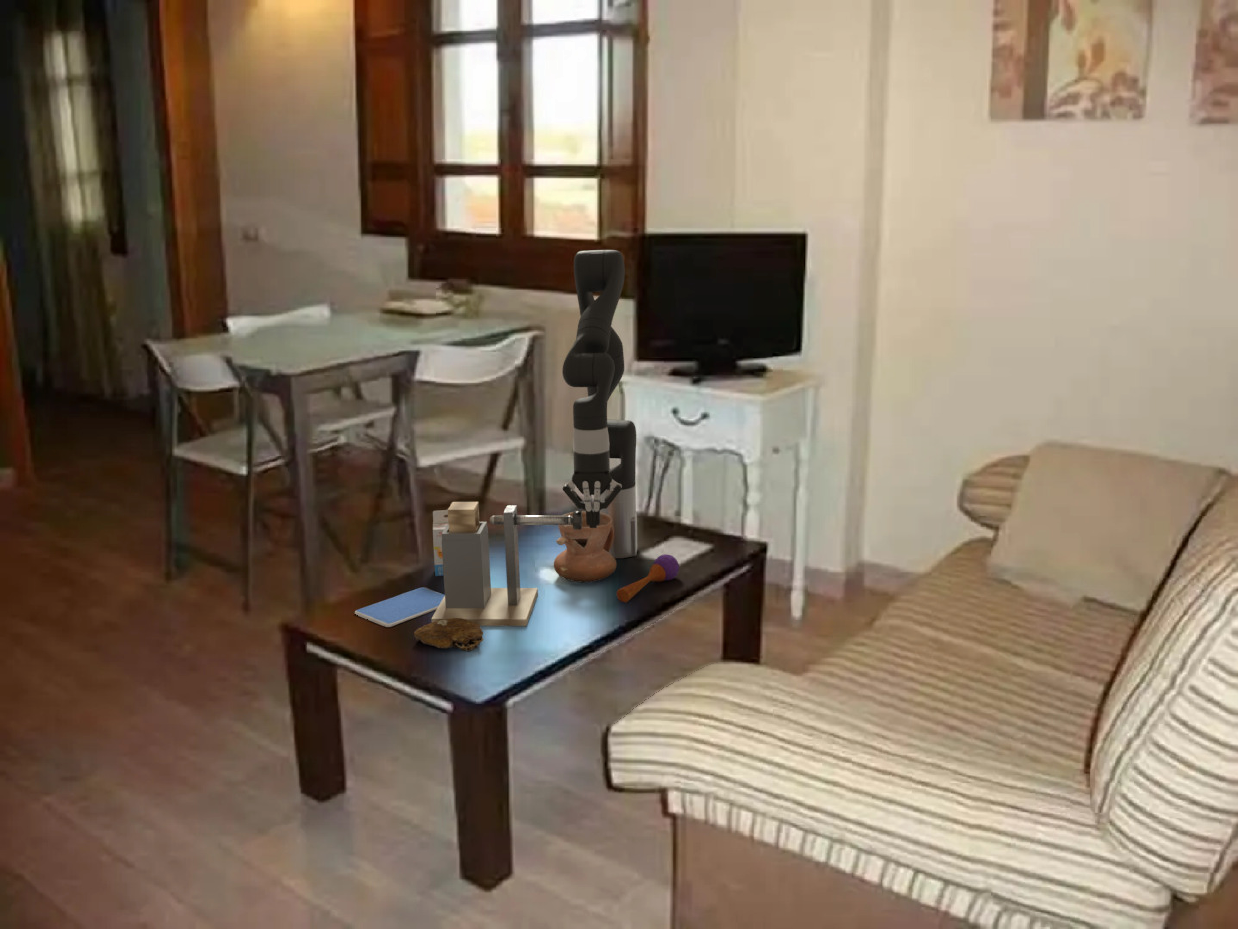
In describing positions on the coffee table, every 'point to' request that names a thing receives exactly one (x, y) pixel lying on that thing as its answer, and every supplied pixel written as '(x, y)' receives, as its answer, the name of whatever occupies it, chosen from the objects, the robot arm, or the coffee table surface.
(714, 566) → the coffee table surface
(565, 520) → the steel shaft
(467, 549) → the pedestal
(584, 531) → the ceramic jug
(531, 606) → the birch board
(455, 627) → the decorative rock
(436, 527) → the ink box
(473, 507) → the collar
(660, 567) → the purple maraca
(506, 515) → the shaft bracket
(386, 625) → the tablet computer
